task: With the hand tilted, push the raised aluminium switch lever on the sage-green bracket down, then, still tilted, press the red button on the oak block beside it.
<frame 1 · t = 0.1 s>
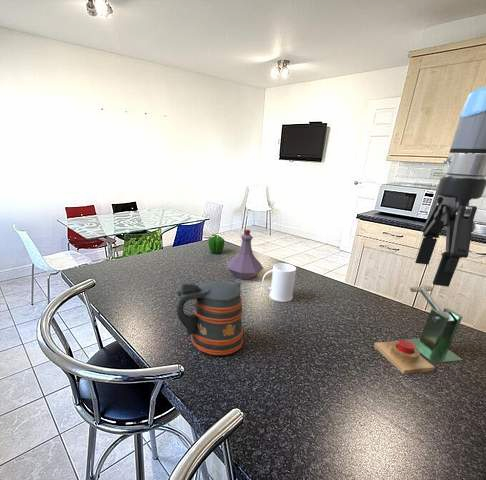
hand: (430, 273, 67), 25 cm above the kitchen island, tool pointing down, fingers open, 13 cm apart
lever: (433, 304, 79), point 13 cm above the kitchen island, hinge at 25.0°
mug: (276, 296, 110), on the kitchen island
button block: (400, 360, 77), on the kitchen island
bell pepper: (216, 252, 155), on the kitchen island
beer stein: (210, 343, 83), on the kitchen island
bracket: (430, 352, 81), on the kitchen island
button: (405, 347, 76), point 4 cm above the kitchen island, slide at 0.1 cm
flask: (243, 275, 128), on the kitchen island
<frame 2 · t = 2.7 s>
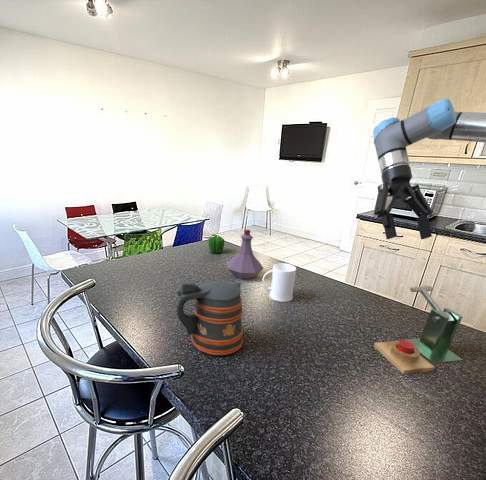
hand: (409, 238, 84), 28 cm above the kitchen island, tool tilted 35°, fingers open, 13 cm apart
nothing on the kitchen island moved.
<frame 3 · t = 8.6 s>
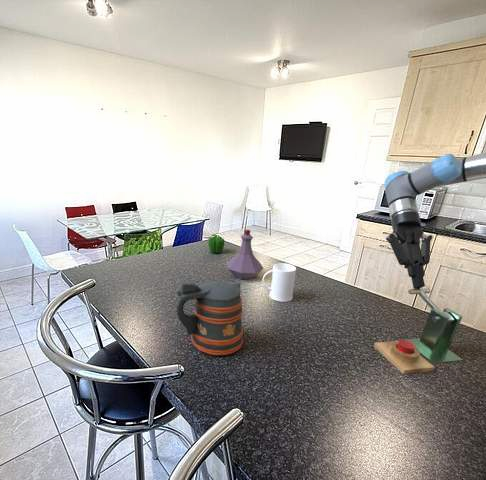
hand: (419, 287, 84), 15 cm above the kitchen island, tool tilted 45°, fingers closed
lever: (432, 305, 80), point 13 cm above the kitchen island, hinge at 19.3°, touching gripper
everything else where it was.
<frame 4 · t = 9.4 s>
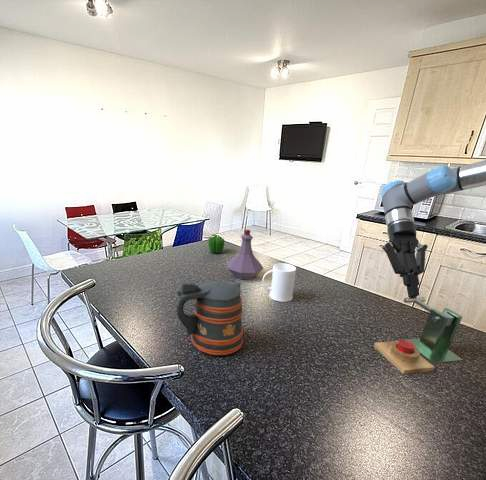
hand: (413, 296, 86), 12 cm above the kitchen island, tool tilted 45°, fingers closed
lever: (429, 309, 81), point 11 cm above the kitchen island, hinge at 1.3°, touching gripper
everything else where it was.
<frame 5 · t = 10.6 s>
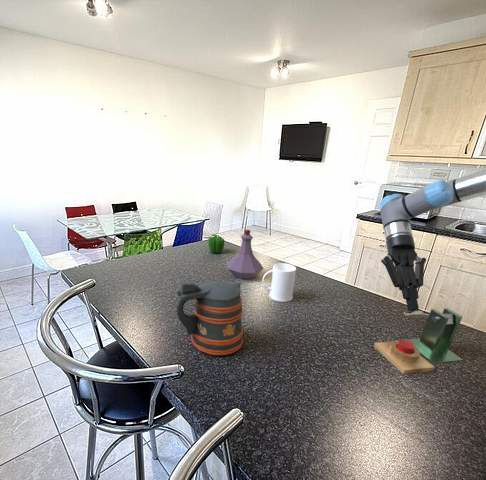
hand: (413, 309, 86), 8 cm above the kitchen island, tool tilted 45°, fingers closed
lever: (428, 316, 81), point 9 cm above the kitchen island, hinge at -23.9°, touching gripper
everything else where it was.
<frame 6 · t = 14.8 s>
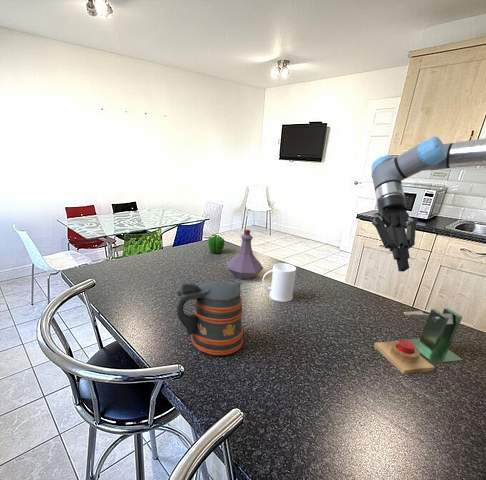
hand: (403, 269, 83), 20 cm above the kitchen island, tool tilted 45°, fingers closed
lever: (428, 316, 81), point 9 cm above the kitchen island, hinge at -23.9°
everything else where it was.
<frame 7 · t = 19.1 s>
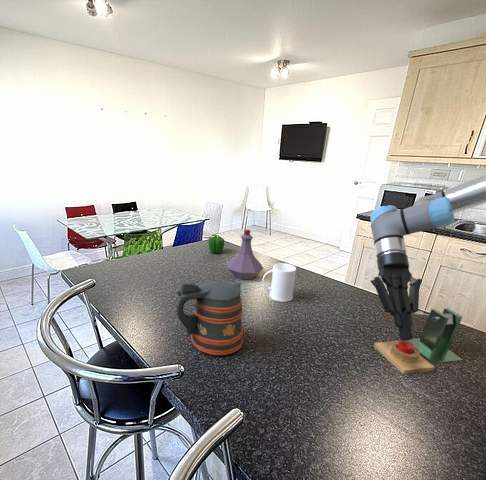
hand: (406, 339, 75), 6 cm above the kitchen island, tool tilted 45°, fingers closed
button: (405, 347, 76), point 4 cm above the kitchen island, slide at 0.0 cm, touching gripper
everything else where it was.
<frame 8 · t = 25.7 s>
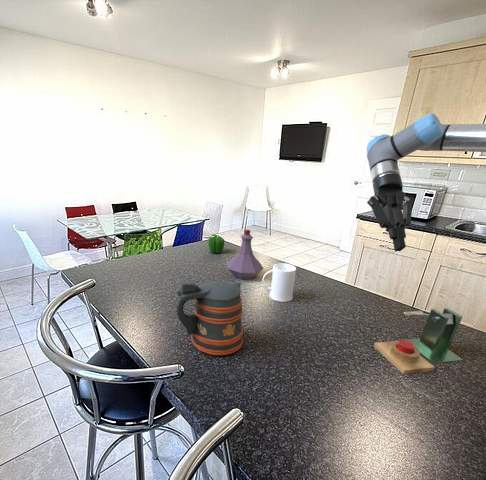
hand: (400, 248, 81), 26 cm above the kitchen island, tool tilted 45°, fingers closed
button: (405, 347, 76), point 4 cm above the kitchen island, slide at 0.1 cm
everything else where it was.
at the end: lever at -24° (first picture: +25°); button pushed in 1.3 cm at the most during the clip, back to where it started at the end; button slide at 0.1 cm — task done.
